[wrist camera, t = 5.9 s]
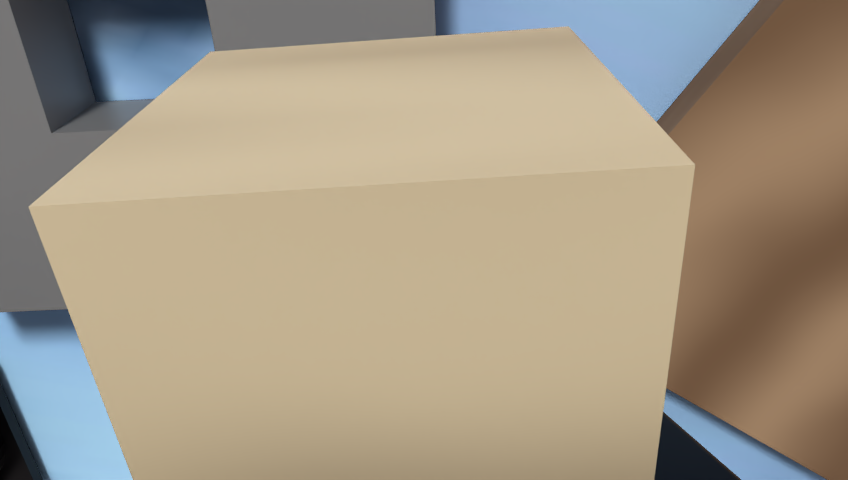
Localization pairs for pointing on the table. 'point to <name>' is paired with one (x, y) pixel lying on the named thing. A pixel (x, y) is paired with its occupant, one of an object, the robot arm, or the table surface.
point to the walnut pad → (769, 233)
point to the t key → (380, 265)
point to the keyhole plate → (125, 102)
